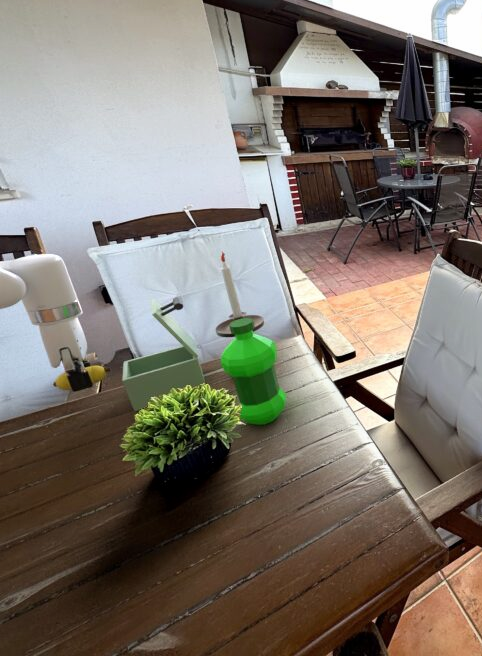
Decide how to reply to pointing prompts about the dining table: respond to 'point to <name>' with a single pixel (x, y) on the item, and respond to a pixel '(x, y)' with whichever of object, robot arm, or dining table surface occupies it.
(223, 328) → the candlestick
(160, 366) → the chest
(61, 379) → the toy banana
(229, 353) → the plastic bottle
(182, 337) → the lid
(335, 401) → the dining table surface
